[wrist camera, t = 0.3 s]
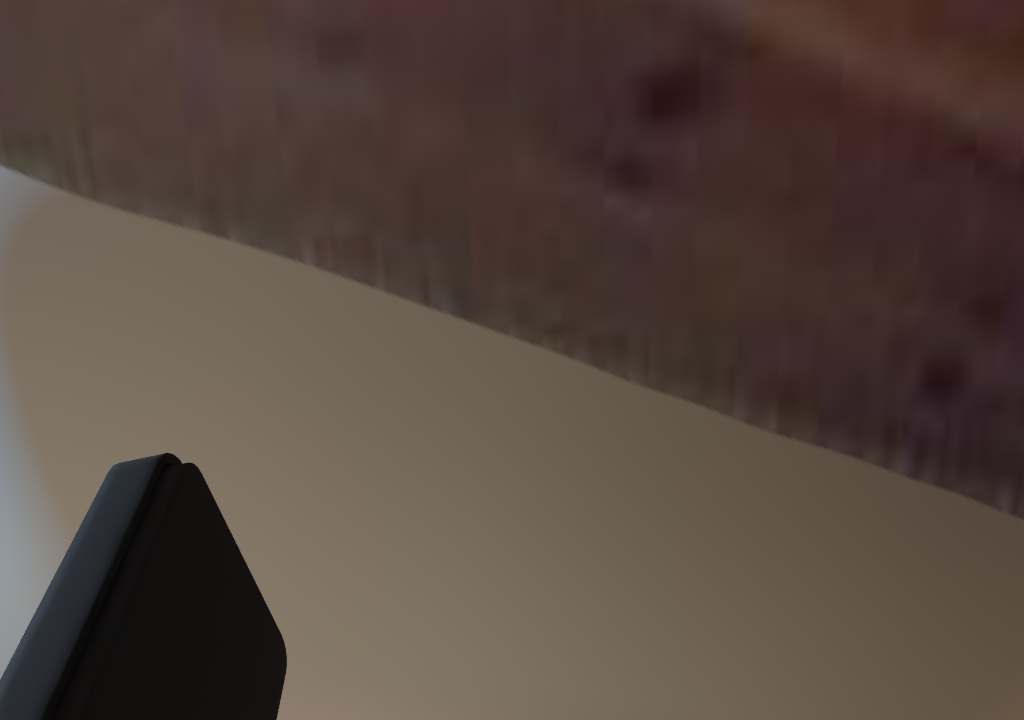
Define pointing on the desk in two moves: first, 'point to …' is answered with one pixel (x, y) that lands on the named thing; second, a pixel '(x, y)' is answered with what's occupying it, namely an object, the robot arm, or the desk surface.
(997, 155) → the desk surface
